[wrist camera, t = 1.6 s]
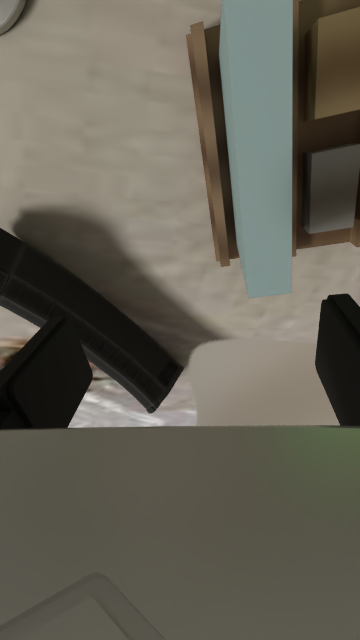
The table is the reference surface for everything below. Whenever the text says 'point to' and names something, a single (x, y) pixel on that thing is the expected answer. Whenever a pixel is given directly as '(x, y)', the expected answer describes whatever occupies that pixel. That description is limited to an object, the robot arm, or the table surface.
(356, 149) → the offcut
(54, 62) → the table surface
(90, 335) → the magazine
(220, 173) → the rack
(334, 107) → the offcut
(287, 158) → the panel
